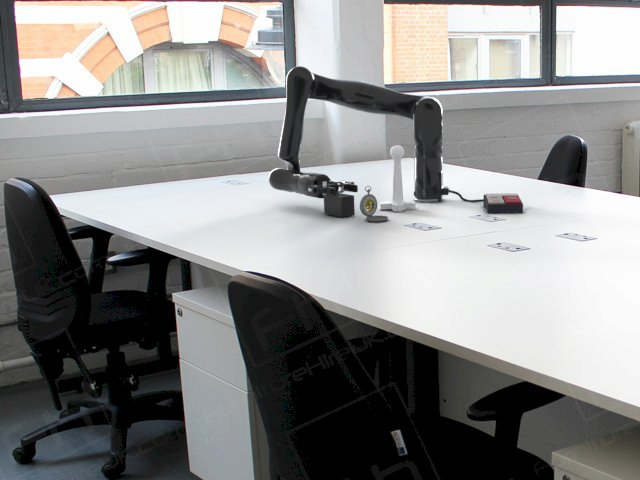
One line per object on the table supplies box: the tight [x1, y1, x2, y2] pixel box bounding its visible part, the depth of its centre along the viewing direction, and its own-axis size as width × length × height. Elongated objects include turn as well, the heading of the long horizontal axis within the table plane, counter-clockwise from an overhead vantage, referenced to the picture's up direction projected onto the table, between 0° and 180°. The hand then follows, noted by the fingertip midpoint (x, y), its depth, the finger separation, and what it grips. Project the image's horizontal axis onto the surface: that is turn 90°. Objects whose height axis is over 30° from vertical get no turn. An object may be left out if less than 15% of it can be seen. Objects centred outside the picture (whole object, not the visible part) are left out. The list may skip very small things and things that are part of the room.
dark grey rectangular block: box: [323, 193, 356, 218], centre depth 325 cm, size 6×5×9 cm
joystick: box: [379, 144, 417, 213], centre depth 330 cm, size 11×8×20 cm
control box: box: [482, 192, 524, 215], centre depth 331 cm, size 11×4×15 cm
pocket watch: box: [359, 185, 389, 223], centre depth 316 cm, size 8×8×10 cm
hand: (345, 190), depth 321 cm, fingers open, 8 cm apart
